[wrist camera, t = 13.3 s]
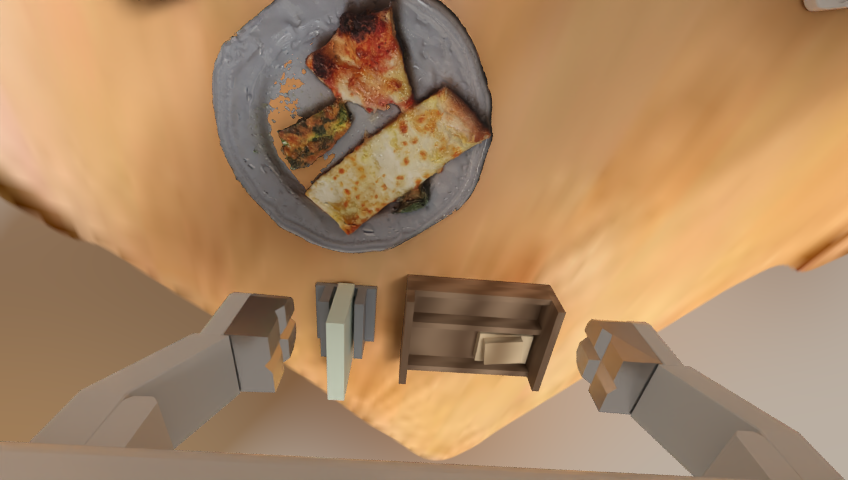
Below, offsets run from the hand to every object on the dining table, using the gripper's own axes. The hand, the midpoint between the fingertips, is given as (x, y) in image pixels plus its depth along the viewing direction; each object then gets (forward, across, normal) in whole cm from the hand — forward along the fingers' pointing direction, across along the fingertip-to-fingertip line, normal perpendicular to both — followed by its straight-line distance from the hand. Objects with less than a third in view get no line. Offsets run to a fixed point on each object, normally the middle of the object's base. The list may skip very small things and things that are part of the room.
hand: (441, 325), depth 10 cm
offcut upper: (+26, -12, +25) cm, 38 cm away
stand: (+28, +8, +23) cm, 37 cm away
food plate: (+29, +6, +1) cm, 29 cm away
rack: (+28, -8, +23) cm, 37 cm away
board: (+27, +8, +24) cm, 37 cm away
